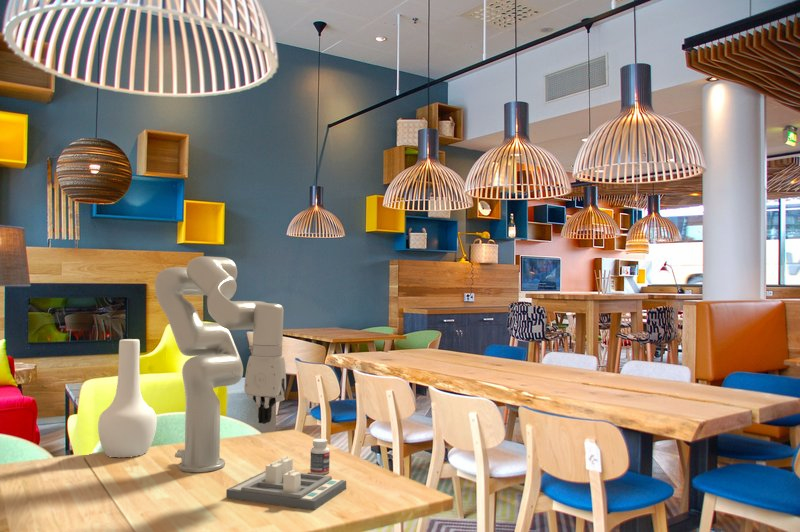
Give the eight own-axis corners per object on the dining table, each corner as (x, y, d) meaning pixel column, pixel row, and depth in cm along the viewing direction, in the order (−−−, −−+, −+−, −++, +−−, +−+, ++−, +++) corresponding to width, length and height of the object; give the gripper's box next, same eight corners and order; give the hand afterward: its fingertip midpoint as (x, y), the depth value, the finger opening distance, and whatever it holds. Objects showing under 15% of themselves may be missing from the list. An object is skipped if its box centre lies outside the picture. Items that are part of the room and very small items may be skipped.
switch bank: (226, 498, 153) (226, 486, 153) (264, 478, 169) (264, 468, 169) (314, 510, 145) (314, 497, 145) (346, 488, 160) (346, 477, 161)
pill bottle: (325, 475, 172) (326, 442, 172) (307, 474, 173) (307, 441, 173) (331, 470, 177) (332, 438, 177) (314, 469, 178) (314, 437, 178)
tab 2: (276, 478, 162) (276, 458, 162) (282, 475, 165) (282, 455, 165) (286, 479, 161) (286, 459, 161) (292, 476, 164) (292, 456, 164)
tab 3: (283, 493, 150) (283, 471, 150) (289, 489, 153) (289, 468, 153) (294, 495, 149) (294, 473, 149) (300, 491, 152) (300, 469, 152)
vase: (144, 444, 206) (146, 337, 208) (164, 454, 194) (166, 339, 196) (89, 453, 195) (92, 339, 197) (107, 464, 183) (110, 342, 184)
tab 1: (265, 483, 157) (265, 463, 157) (271, 480, 160) (272, 460, 160) (275, 485, 156) (276, 464, 156) (282, 481, 159) (282, 461, 159)
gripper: (234, 350, 162) (231, 422, 162) (284, 355, 157) (281, 429, 157) (251, 347, 169) (248, 416, 169) (299, 352, 164) (297, 422, 164)
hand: (264, 422), depth 163 cm, fingers closed
